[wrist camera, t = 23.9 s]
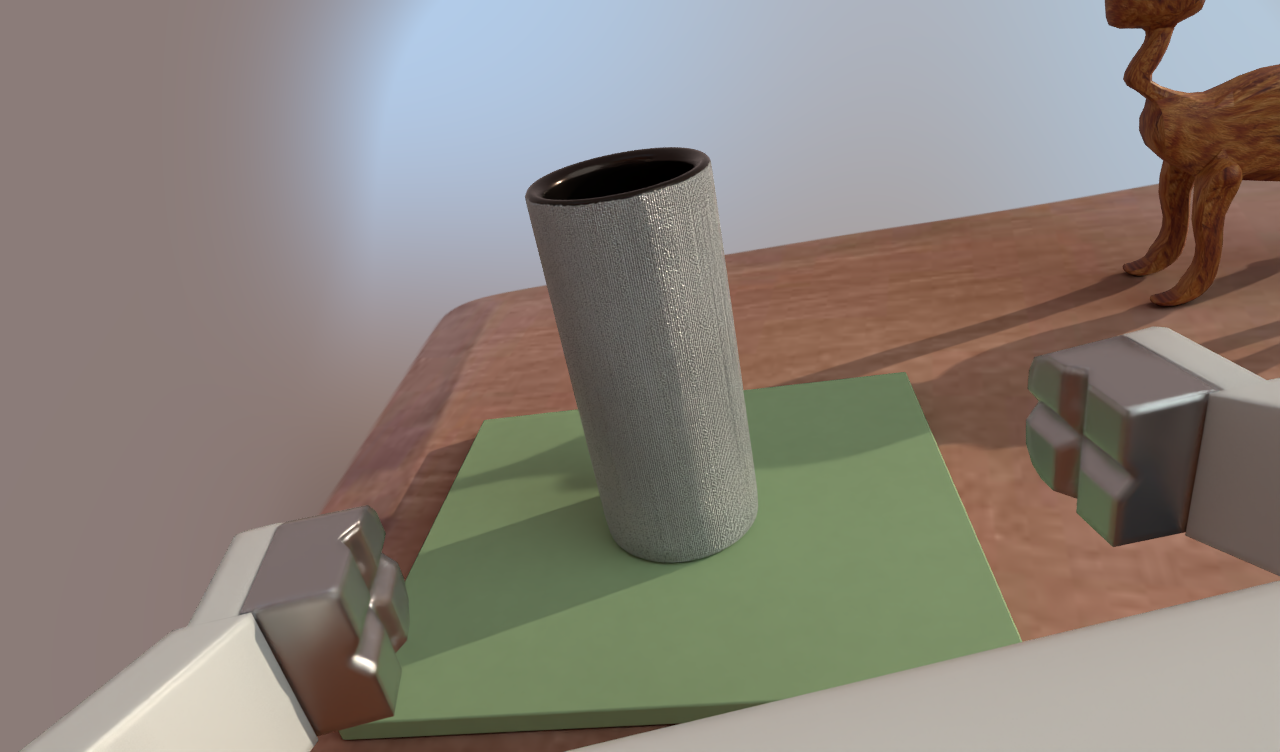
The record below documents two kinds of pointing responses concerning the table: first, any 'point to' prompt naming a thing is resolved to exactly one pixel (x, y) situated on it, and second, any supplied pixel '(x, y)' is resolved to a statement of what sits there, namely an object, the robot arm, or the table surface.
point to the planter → (650, 346)
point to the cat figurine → (1197, 144)
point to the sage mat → (692, 577)
